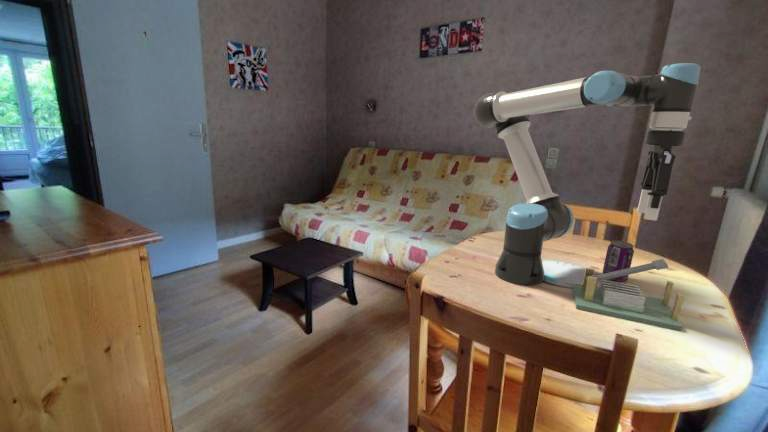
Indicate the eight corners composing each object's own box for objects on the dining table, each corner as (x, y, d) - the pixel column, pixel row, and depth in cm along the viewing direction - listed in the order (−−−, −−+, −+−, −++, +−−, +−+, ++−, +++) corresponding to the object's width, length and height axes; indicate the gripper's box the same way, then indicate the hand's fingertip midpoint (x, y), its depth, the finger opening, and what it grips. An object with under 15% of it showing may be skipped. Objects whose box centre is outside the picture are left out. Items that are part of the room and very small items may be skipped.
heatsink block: (602, 305, 94) (605, 291, 93) (598, 291, 102) (601, 278, 101) (642, 313, 90) (646, 299, 89) (635, 298, 98) (638, 285, 97)
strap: (588, 286, 96) (586, 280, 96) (587, 280, 100) (584, 275, 100) (669, 268, 87) (666, 263, 87) (664, 263, 91) (662, 257, 91)
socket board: (575, 308, 94) (576, 304, 94) (572, 285, 107) (573, 282, 107) (680, 330, 85) (682, 326, 84) (663, 303, 98) (664, 299, 98)
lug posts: (584, 301, 95) (588, 278, 94) (581, 287, 103) (585, 266, 102) (676, 320, 87) (683, 295, 85) (666, 303, 95) (672, 280, 93)
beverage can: (631, 283, 110) (639, 248, 107) (607, 281, 111) (614, 246, 108) (621, 274, 116) (628, 241, 113) (598, 272, 118) (605, 239, 115)
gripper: (700, 130, 77) (675, 227, 83) (672, 129, 95) (653, 209, 101) (660, 129, 80) (638, 223, 86) (640, 128, 98) (623, 206, 104)
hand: (646, 215), depth 94 cm, fingers open, 7 cm apart
